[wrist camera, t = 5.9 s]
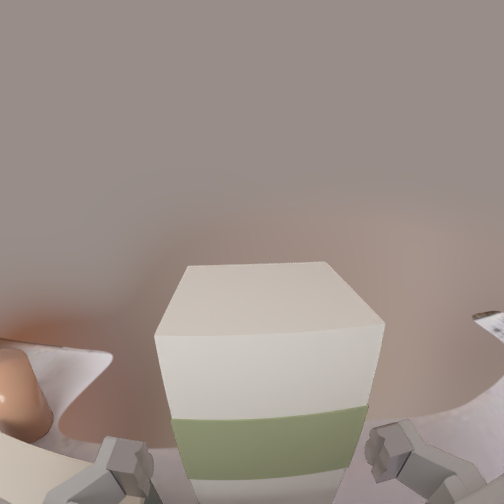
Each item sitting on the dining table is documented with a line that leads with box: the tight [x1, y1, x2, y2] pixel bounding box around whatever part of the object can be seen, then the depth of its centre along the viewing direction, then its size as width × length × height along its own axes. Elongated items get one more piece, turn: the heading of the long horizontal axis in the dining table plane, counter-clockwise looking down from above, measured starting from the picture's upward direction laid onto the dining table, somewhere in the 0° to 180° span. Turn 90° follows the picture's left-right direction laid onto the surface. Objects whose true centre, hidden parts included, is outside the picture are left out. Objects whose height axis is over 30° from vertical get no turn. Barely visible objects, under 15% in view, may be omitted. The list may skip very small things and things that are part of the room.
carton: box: [154, 262, 385, 504], centre depth 10 cm, size 5×5×15 cm
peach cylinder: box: [0, 348, 53, 443], centre depth 16 cm, size 6×6×6 cm
